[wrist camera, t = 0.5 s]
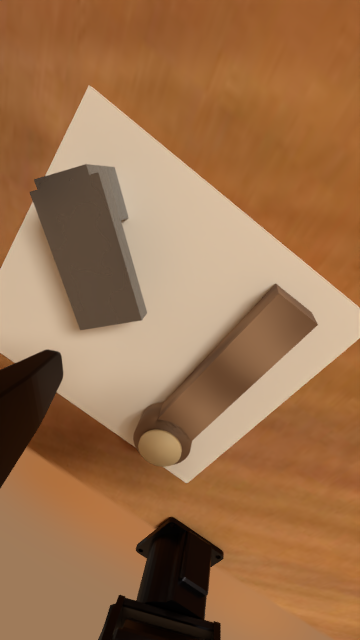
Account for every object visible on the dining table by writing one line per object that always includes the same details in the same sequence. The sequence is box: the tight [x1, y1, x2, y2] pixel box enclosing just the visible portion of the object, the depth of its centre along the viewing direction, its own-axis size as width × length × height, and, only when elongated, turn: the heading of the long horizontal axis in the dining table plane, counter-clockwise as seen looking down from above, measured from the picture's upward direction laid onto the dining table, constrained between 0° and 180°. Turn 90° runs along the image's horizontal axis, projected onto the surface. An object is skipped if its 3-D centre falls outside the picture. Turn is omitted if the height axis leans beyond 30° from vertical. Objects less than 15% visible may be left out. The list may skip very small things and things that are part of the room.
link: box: [133, 284, 318, 465], centre depth 23 cm, size 16×4×2 cm, turn 144°
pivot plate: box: [0, 86, 360, 483], centre depth 23 cm, size 20×22×3 cm
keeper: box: [30, 164, 147, 330], centre depth 20 cm, size 8×4×4 cm, turn 14°
